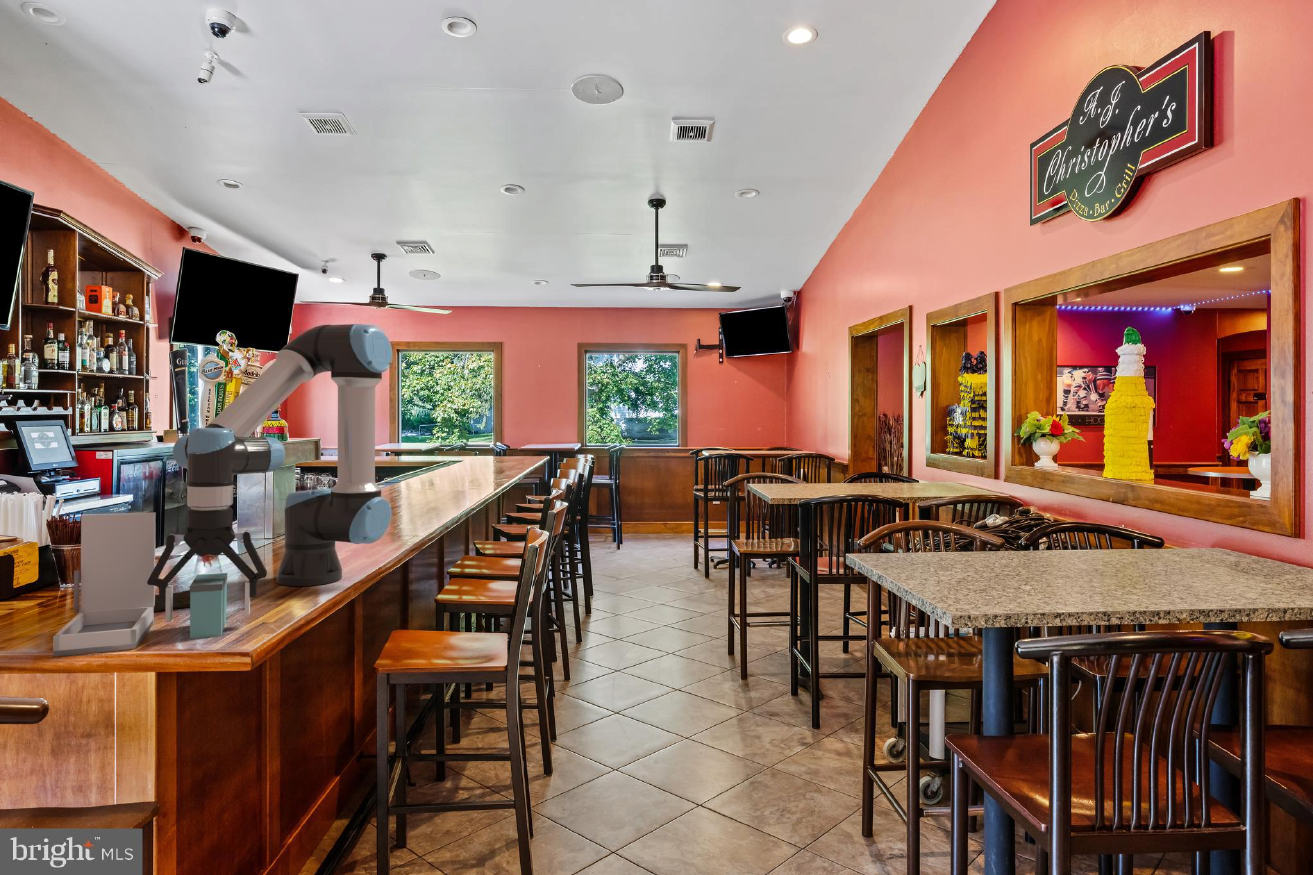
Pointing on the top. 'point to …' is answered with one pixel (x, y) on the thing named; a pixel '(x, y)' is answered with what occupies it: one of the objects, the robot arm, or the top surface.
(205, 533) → the robot arm
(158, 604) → the hand tool
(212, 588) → the block
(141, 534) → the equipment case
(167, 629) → the top surface
